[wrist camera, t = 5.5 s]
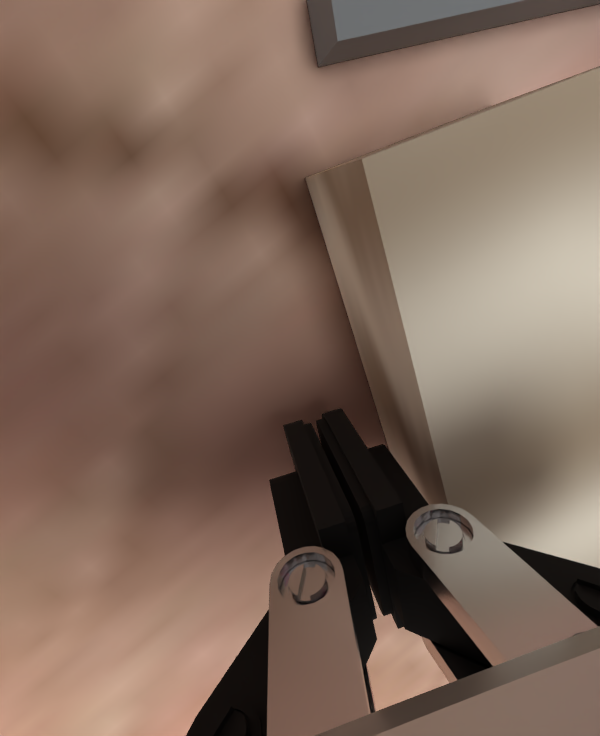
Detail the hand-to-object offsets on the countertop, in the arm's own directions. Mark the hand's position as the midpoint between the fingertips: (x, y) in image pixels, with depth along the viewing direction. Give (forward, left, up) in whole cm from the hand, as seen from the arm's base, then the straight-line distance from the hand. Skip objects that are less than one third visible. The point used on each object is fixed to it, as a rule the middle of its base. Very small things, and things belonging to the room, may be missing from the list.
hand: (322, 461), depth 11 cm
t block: (-1, +9, -1) cm, 9 cm away
